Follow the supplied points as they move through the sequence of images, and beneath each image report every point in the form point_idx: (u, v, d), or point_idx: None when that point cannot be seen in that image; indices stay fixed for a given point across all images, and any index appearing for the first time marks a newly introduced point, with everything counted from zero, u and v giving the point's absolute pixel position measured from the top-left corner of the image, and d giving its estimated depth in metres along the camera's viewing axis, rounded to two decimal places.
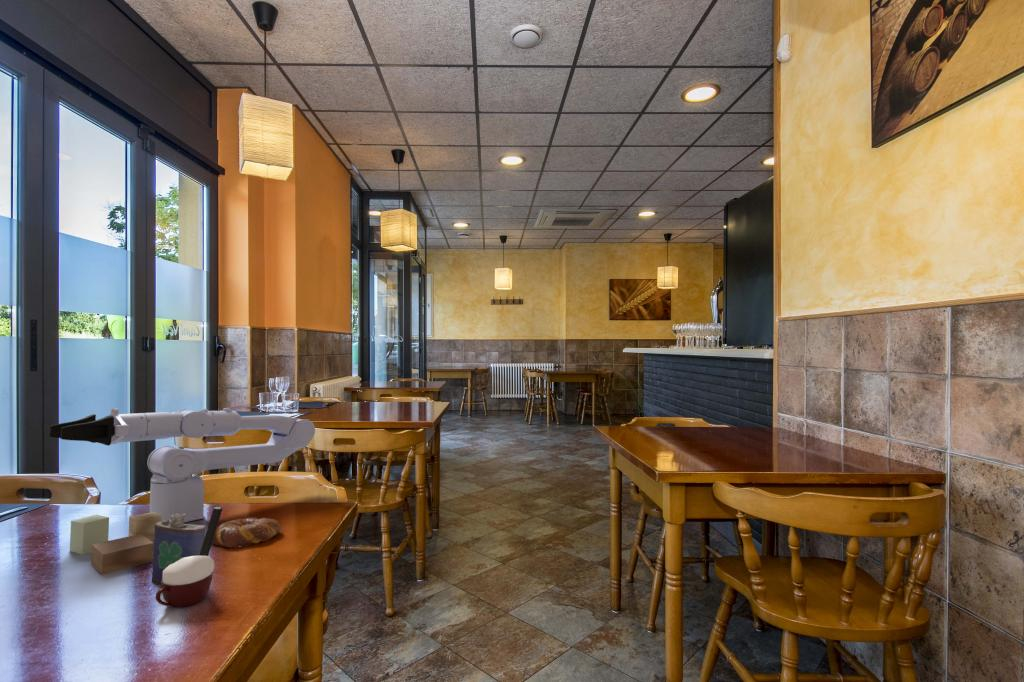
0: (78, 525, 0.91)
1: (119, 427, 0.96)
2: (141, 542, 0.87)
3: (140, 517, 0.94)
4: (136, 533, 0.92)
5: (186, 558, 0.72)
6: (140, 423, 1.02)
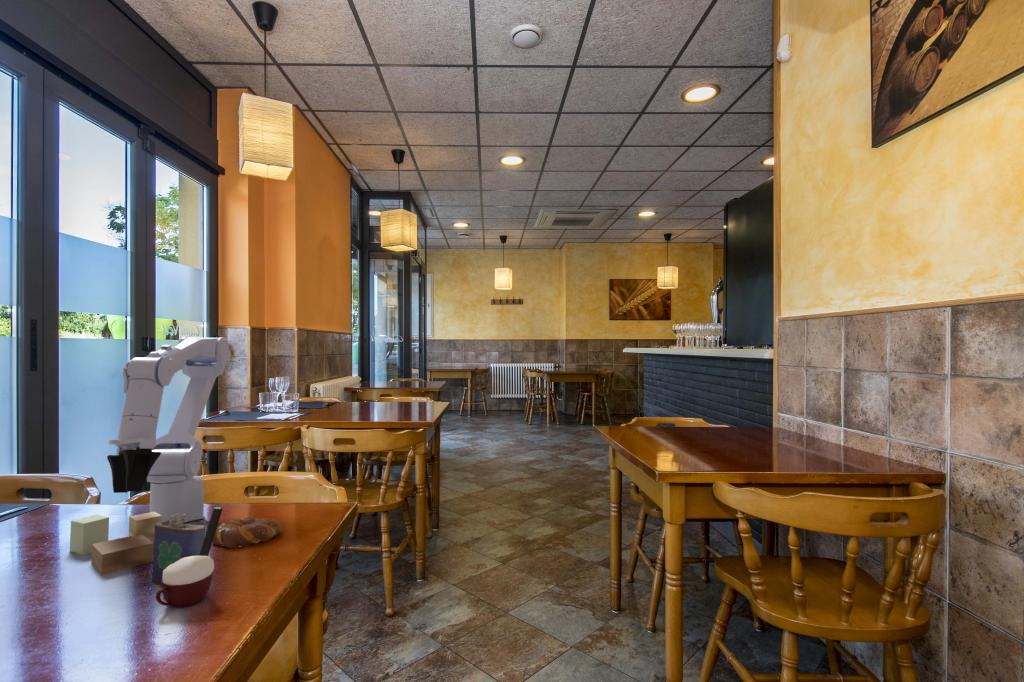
0: (78, 525, 0.91)
1: (143, 445, 0.90)
2: (141, 542, 0.87)
3: (141, 517, 0.94)
4: (136, 533, 0.92)
5: (186, 558, 0.72)
6: (138, 421, 0.94)
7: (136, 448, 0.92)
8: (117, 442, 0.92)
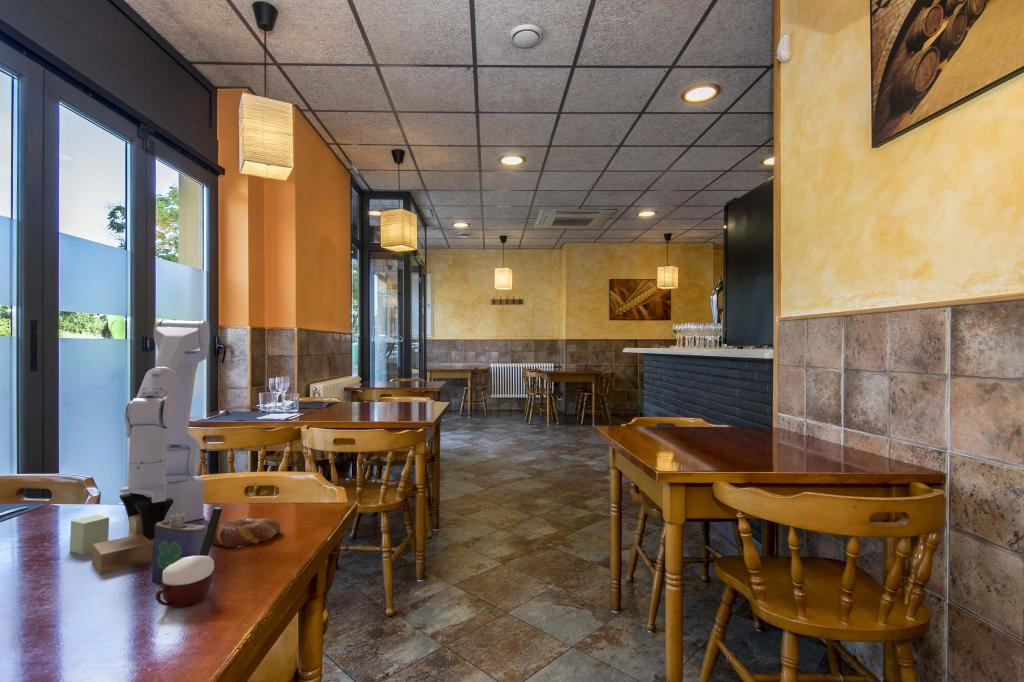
0: (78, 525, 0.91)
1: (155, 500, 0.90)
2: (141, 542, 0.87)
3: None
4: (136, 533, 0.92)
5: (186, 558, 0.72)
6: (146, 469, 0.93)
7: (148, 498, 0.92)
8: (128, 491, 0.92)
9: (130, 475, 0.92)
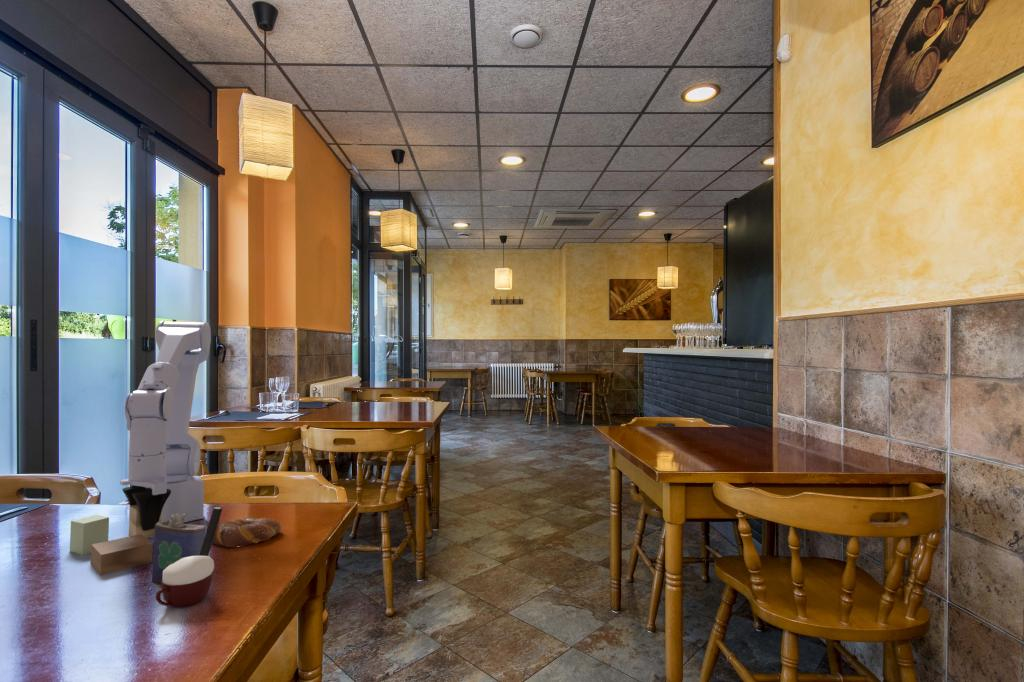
0: (78, 525, 0.91)
1: (156, 492, 0.90)
2: (140, 542, 0.87)
3: None
4: (137, 522, 0.92)
5: (186, 558, 0.72)
6: (146, 461, 0.93)
7: (148, 491, 0.92)
8: (128, 483, 0.92)
9: (130, 467, 0.93)
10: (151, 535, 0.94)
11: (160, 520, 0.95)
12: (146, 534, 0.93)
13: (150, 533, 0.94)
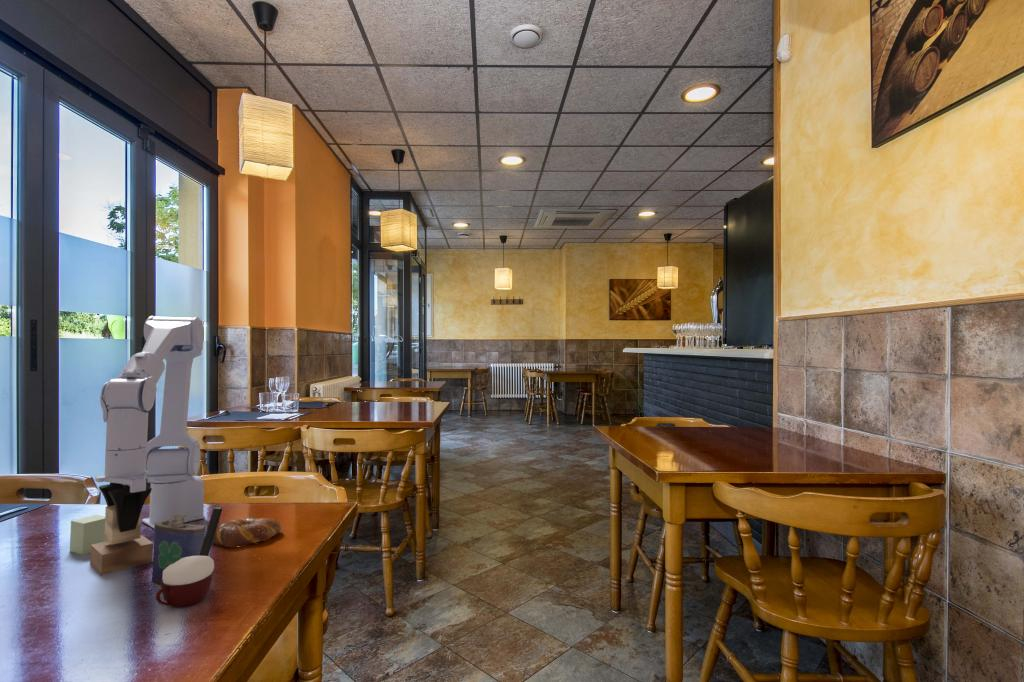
0: (78, 525, 0.91)
1: (134, 490, 0.82)
2: (140, 542, 0.87)
3: None
4: (113, 525, 0.84)
5: (186, 558, 0.72)
6: (124, 456, 0.85)
7: (126, 488, 0.84)
8: (104, 480, 0.84)
9: (107, 463, 0.85)
10: (129, 539, 0.86)
11: (139, 522, 0.87)
12: (123, 538, 0.85)
13: (128, 536, 0.86)
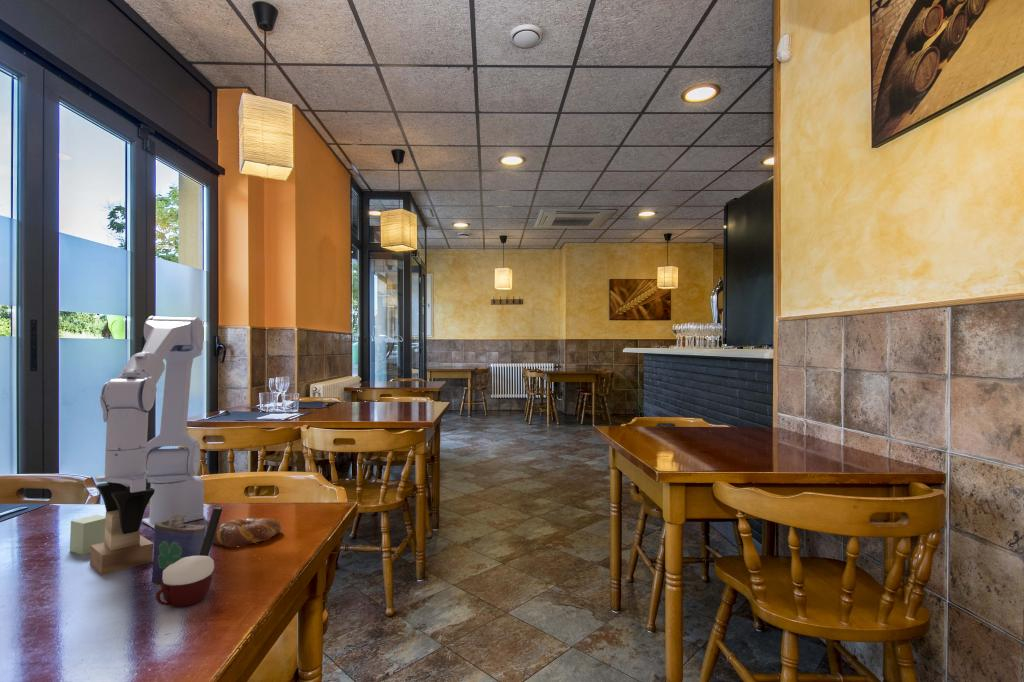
0: (78, 525, 0.91)
1: (134, 489, 0.82)
2: (140, 542, 0.87)
3: (118, 513, 0.86)
4: (112, 530, 0.84)
5: (186, 558, 0.72)
6: (124, 456, 0.85)
7: (126, 488, 0.84)
8: (104, 480, 0.84)
9: (107, 463, 0.85)
10: (128, 544, 0.86)
11: (139, 528, 0.87)
12: (123, 543, 0.85)
13: (127, 542, 0.85)
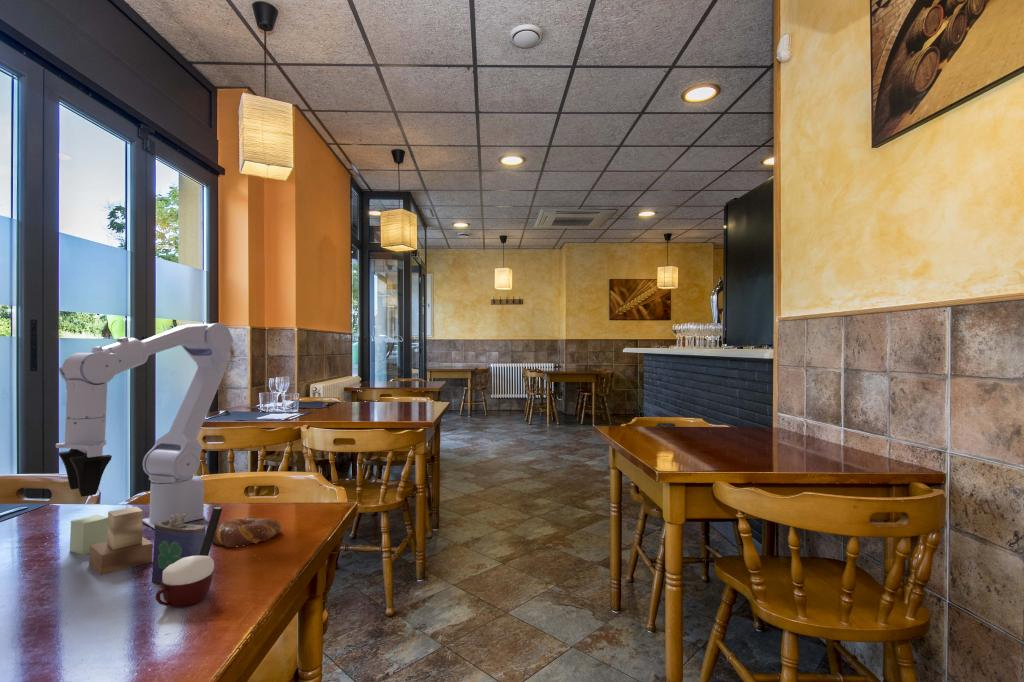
0: (78, 525, 0.91)
1: (90, 454, 0.88)
2: None
3: (120, 512, 0.86)
4: (114, 530, 0.84)
5: (186, 558, 0.72)
6: (83, 424, 0.91)
7: (84, 454, 0.90)
8: (64, 446, 0.90)
9: (67, 430, 0.91)
10: (131, 544, 0.86)
11: (141, 527, 0.87)
12: (125, 543, 0.85)
13: (129, 541, 0.86)
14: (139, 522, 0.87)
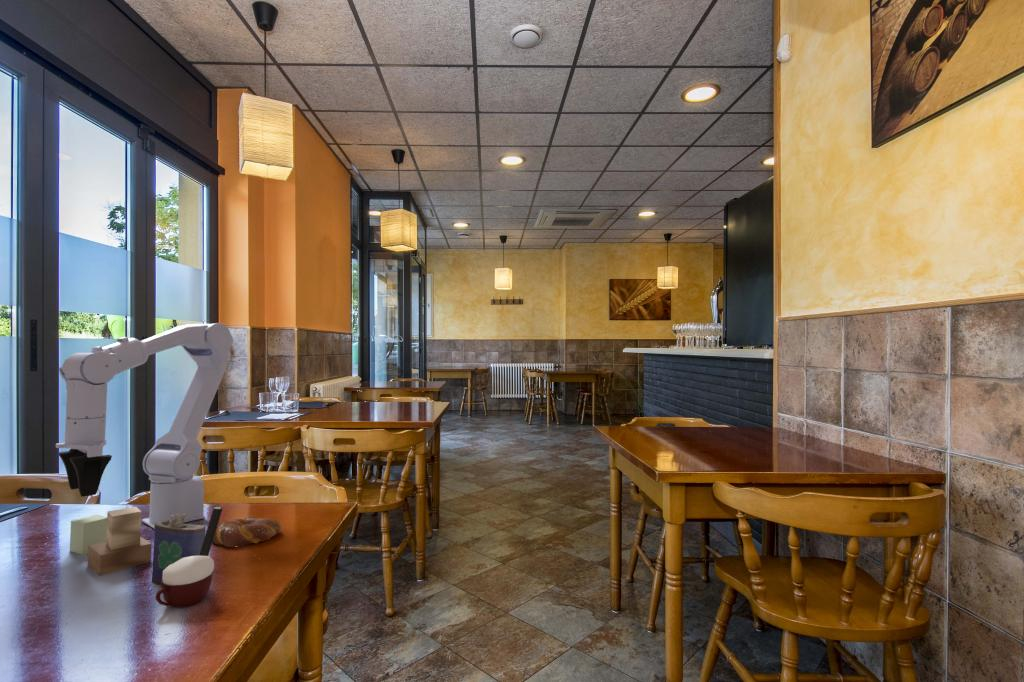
0: (78, 525, 0.91)
1: (90, 454, 0.88)
2: None
3: (119, 513, 0.86)
4: (112, 530, 0.84)
5: (186, 558, 0.72)
6: (83, 424, 0.91)
7: (84, 454, 0.90)
8: (64, 446, 0.90)
9: (67, 430, 0.91)
10: (129, 544, 0.86)
11: (139, 528, 0.87)
12: (123, 543, 0.85)
13: (128, 542, 0.86)
14: (137, 523, 0.87)
